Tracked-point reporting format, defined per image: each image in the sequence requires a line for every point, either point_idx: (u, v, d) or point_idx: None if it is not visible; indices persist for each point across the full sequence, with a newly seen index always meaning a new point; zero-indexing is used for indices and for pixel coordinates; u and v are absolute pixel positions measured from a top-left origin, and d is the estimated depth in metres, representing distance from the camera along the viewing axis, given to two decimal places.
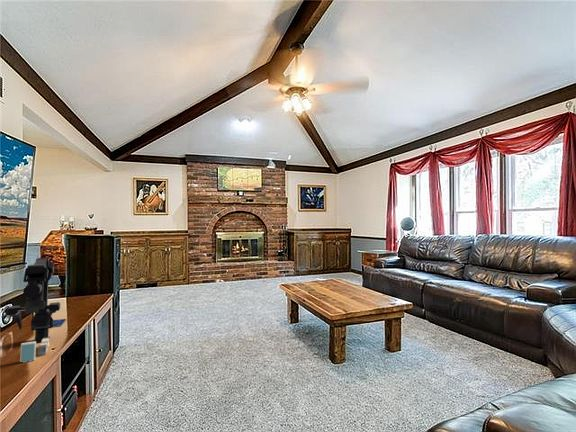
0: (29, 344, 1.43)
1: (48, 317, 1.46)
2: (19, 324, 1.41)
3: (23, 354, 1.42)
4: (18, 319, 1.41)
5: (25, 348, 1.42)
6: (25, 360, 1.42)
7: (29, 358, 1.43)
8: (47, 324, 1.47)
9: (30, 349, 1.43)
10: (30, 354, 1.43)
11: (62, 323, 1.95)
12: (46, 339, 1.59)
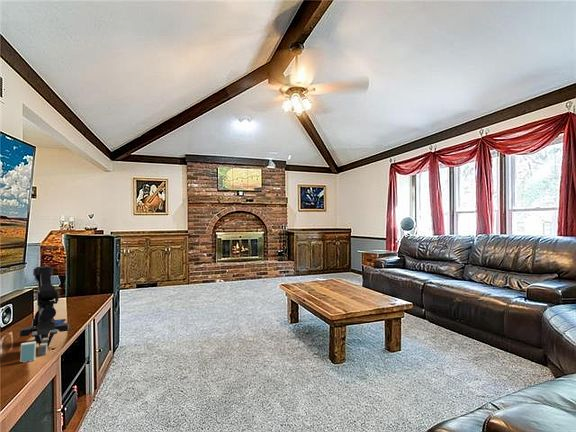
0: (29, 344, 1.43)
1: (50, 338, 1.57)
2: (39, 343, 1.55)
3: (23, 354, 1.42)
4: (39, 338, 1.55)
5: (25, 348, 1.42)
6: (25, 360, 1.42)
7: (29, 358, 1.43)
8: (49, 344, 1.57)
9: (30, 349, 1.43)
10: (30, 354, 1.43)
11: None
12: (46, 339, 1.59)
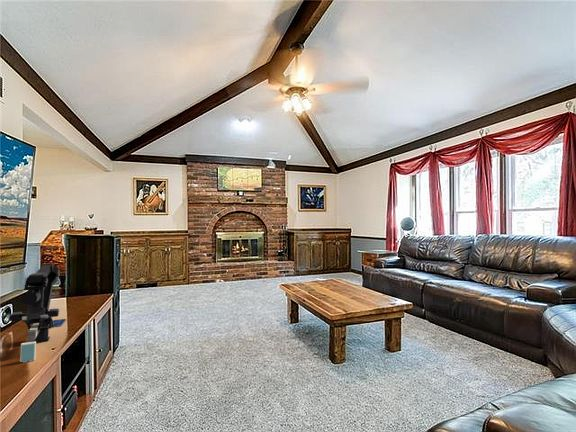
0: (29, 344, 1.43)
1: (40, 323, 1.57)
2: (29, 328, 1.55)
3: (23, 354, 1.42)
4: (28, 323, 1.55)
5: (25, 348, 1.42)
6: (25, 360, 1.42)
7: (29, 357, 1.43)
8: (39, 330, 1.57)
9: (30, 349, 1.43)
10: (30, 354, 1.43)
11: (62, 323, 1.95)
12: (36, 324, 1.59)
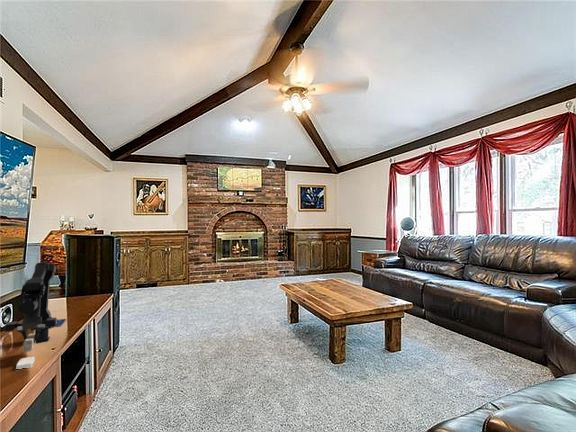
0: None
1: (36, 333, 1.49)
2: (25, 338, 1.47)
3: None
4: (24, 334, 1.47)
5: None
6: None
7: None
8: (35, 340, 1.49)
9: None
10: None
11: (62, 323, 1.95)
12: (32, 334, 1.51)
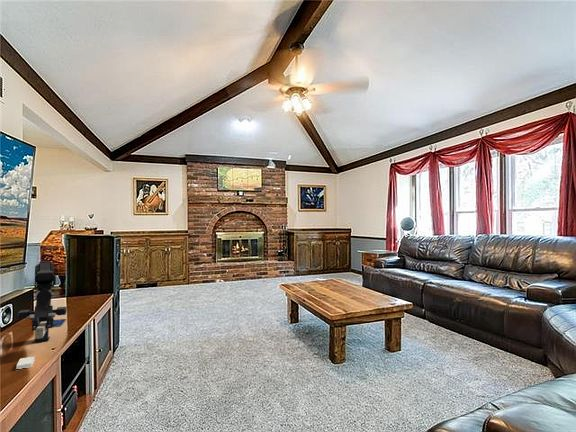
0: None
1: (47, 321, 1.56)
2: (37, 326, 1.54)
3: None
4: (36, 321, 1.53)
5: None
6: None
7: None
8: (47, 328, 1.56)
9: None
10: None
11: (62, 323, 1.95)
12: (44, 322, 1.58)
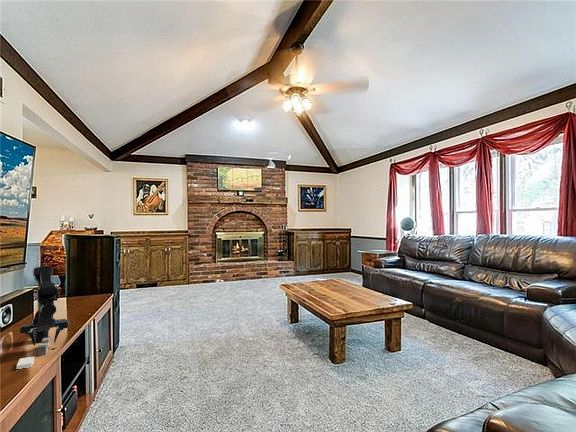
0: None
1: (56, 334, 1.58)
2: (33, 341, 1.54)
3: None
4: (32, 336, 1.54)
5: None
6: None
7: None
8: (55, 340, 1.59)
9: None
10: None
11: None
12: (46, 339, 1.59)
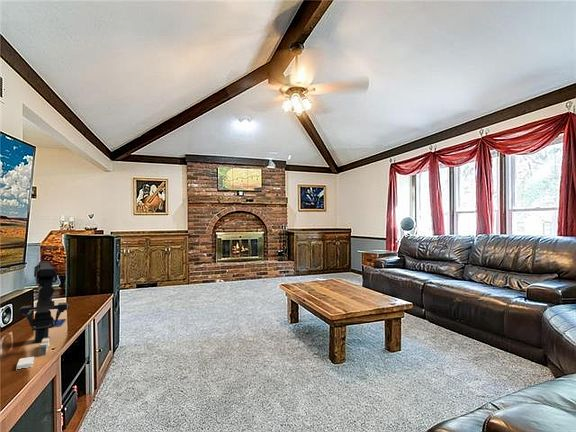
0: None
1: (57, 316, 1.59)
2: (30, 322, 1.54)
3: None
4: (30, 318, 1.54)
5: None
6: None
7: None
8: (56, 322, 1.59)
9: None
10: None
11: (62, 323, 1.95)
12: (46, 339, 1.59)
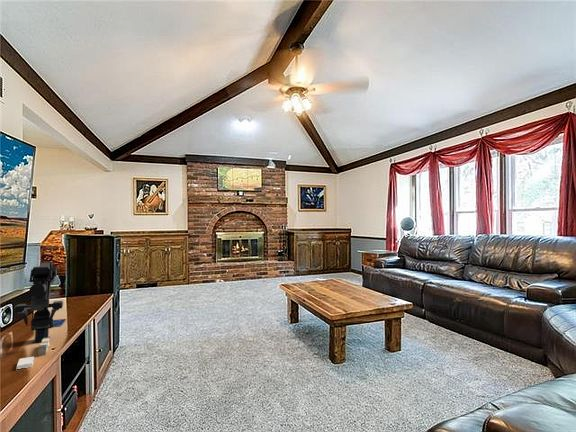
0: None
1: (52, 314, 1.59)
2: (25, 321, 1.54)
3: None
4: (24, 316, 1.54)
5: None
6: None
7: None
8: (51, 321, 1.60)
9: None
10: None
11: (62, 323, 1.95)
12: (46, 339, 1.59)
